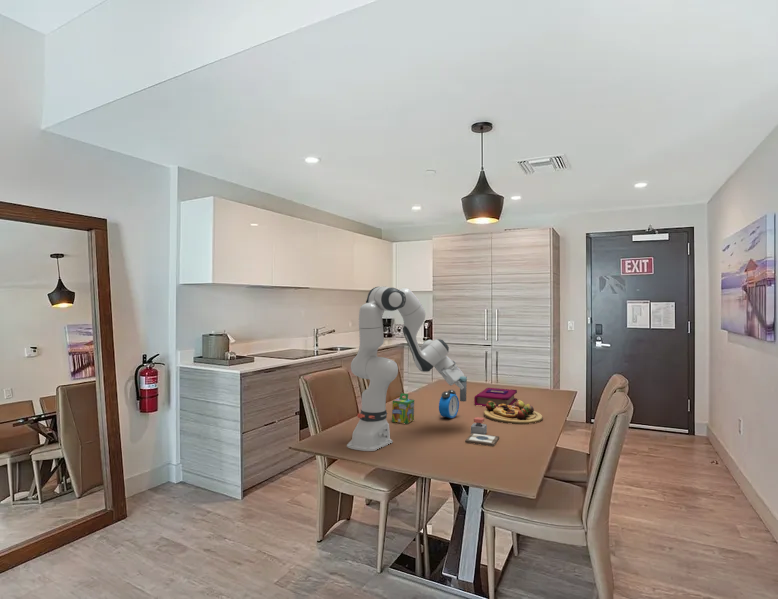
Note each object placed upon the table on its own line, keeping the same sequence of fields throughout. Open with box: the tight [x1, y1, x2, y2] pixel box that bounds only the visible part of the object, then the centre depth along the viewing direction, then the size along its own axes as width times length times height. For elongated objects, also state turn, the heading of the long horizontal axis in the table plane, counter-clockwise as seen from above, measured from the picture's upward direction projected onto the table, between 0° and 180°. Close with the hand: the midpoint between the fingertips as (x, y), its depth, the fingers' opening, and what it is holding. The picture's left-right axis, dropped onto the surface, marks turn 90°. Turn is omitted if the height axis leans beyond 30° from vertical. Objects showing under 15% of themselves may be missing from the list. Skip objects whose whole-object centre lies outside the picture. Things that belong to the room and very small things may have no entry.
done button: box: [473, 416, 485, 426], centre depth 227 cm, size 4×4×4 cm
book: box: [473, 387, 518, 407], centre depth 296 cm, size 21×28×8 cm
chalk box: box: [391, 392, 415, 425], centre depth 249 cm, size 9×9×15 cm
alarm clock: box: [438, 389, 460, 420], centre depth 258 cm, size 13×6×15 cm, turn 144°
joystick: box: [459, 375, 468, 403], centre depth 233 cm, size 3×3×12 cm
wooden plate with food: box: [483, 399, 544, 425], centre depth 260 cm, size 32×32×8 cm
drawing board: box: [464, 433, 500, 447], centre depth 216 cm, size 13×13×1 cm
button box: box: [470, 422, 488, 435], centre depth 227 cm, size 6×6×4 cm
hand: (464, 387), depth 233 cm, fingers closed on joystick, 3 cm apart
